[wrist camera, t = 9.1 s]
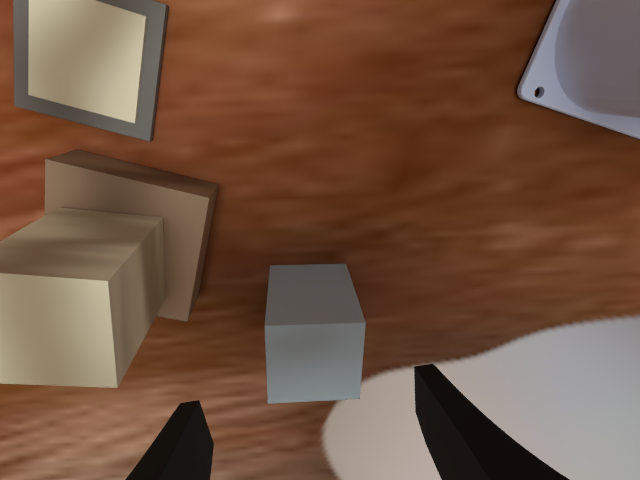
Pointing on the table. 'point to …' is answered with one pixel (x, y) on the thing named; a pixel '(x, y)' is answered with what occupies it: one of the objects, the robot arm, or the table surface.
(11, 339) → the maple block
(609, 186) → the table surface
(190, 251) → the walnut block
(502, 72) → the table surface
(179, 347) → the table surface
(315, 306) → the slate block
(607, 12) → the robot arm
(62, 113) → the swatch tile
